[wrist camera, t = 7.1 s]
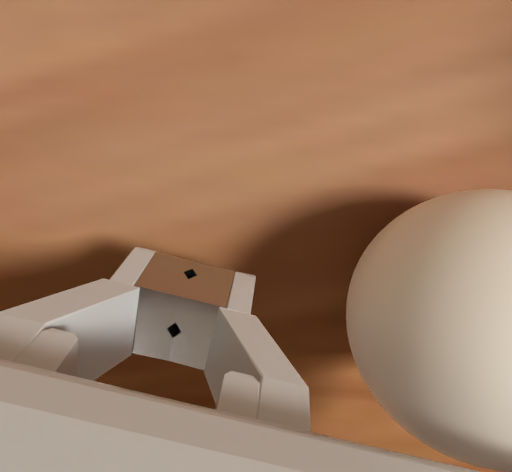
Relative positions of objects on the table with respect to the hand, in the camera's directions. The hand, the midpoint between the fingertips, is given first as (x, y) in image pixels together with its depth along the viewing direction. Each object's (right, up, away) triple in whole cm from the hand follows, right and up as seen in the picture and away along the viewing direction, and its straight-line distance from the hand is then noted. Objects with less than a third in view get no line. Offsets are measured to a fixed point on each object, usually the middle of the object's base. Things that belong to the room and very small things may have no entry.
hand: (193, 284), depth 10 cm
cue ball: (+6, -1, -2) cm, 6 cm away
